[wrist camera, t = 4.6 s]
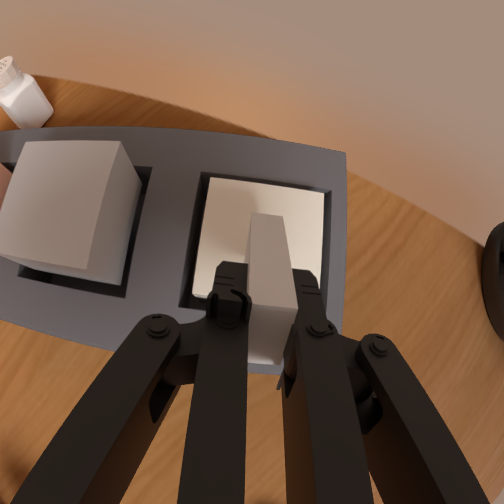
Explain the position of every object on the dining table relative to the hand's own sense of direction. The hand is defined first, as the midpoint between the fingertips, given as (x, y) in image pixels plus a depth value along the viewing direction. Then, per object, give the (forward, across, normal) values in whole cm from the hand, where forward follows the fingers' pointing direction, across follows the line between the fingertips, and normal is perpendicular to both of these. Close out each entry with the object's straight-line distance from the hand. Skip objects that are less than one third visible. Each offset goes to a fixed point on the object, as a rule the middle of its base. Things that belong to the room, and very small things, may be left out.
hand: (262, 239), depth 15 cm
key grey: (+2, -11, -2) cm, 11 cm away
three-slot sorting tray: (+7, -11, -7) cm, 15 cm away
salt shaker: (+17, -26, +3) cm, 31 cm away
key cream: (+5, 0, -4) cm, 6 cm away
